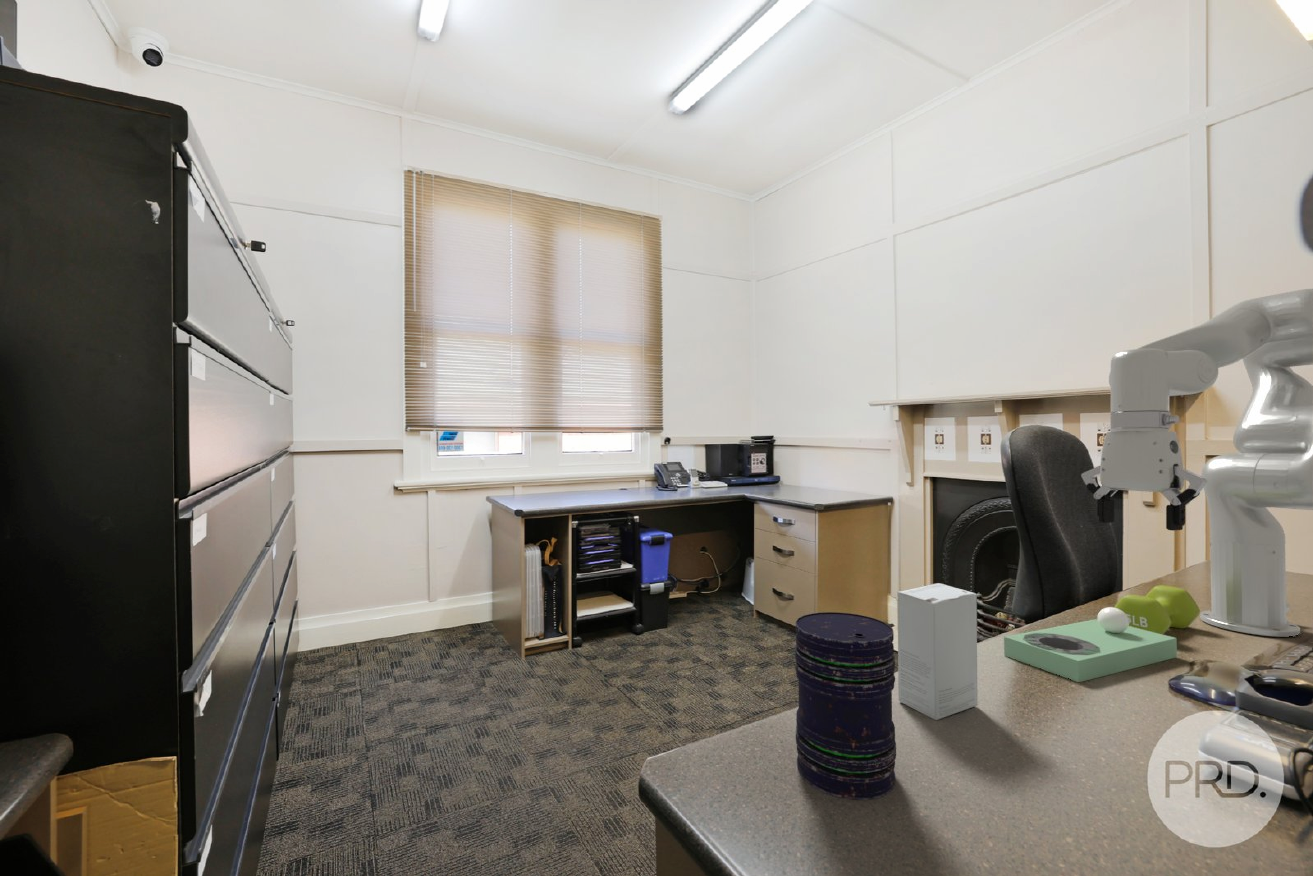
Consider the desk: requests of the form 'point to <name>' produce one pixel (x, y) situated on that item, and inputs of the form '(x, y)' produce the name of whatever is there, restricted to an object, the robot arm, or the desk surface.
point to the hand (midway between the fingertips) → (1138, 525)
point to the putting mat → (1089, 649)
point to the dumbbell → (1160, 609)
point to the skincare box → (937, 649)
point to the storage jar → (845, 704)
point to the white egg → (1113, 620)
